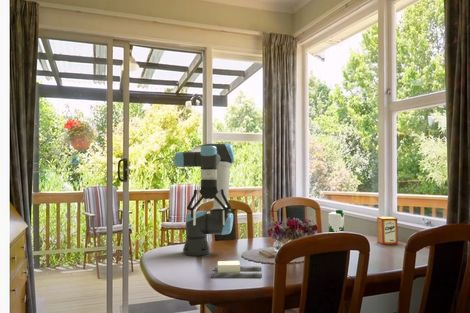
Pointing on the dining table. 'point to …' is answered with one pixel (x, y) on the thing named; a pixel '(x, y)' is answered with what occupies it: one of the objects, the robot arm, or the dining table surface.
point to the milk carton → (336, 221)
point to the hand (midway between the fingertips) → (209, 224)
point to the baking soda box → (387, 230)
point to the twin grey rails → (240, 275)
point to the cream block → (228, 267)
